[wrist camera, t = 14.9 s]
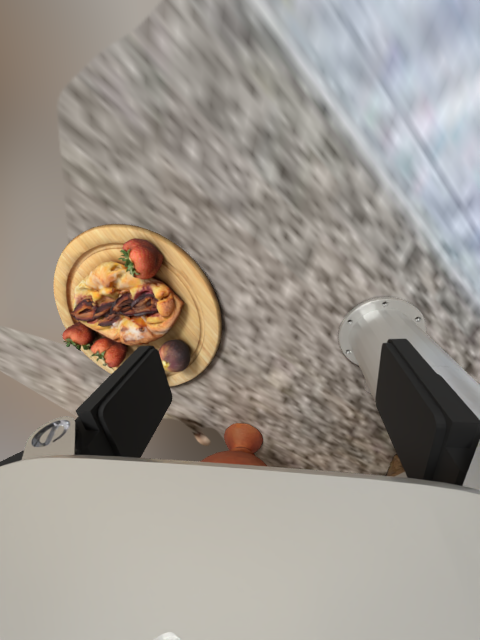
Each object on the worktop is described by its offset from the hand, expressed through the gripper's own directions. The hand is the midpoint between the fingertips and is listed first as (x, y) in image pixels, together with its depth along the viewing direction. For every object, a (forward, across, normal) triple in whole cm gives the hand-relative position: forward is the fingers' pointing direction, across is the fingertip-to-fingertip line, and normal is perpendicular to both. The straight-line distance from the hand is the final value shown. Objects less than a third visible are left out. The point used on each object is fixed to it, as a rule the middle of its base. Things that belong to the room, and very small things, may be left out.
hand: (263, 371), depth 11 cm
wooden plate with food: (+31, +26, +10) cm, 42 cm away
